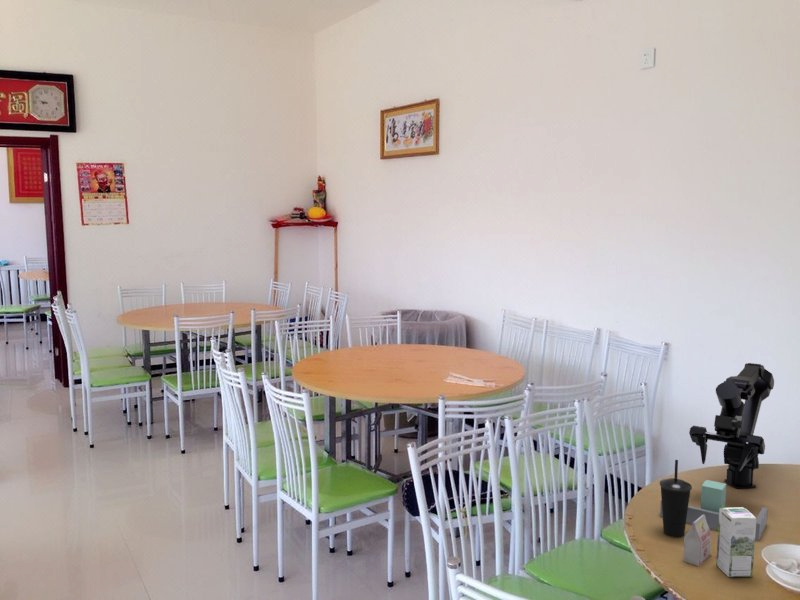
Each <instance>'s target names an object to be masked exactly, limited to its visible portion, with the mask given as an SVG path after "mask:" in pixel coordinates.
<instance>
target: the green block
mask: <svg viewBox="0 0 800 600" xmlns="http://www.w3.org/2000/svg"><path fill="white" fill-rule="evenodd" d="M700 494H701V496H700V508H701V509H705V510H709V511H713V512H718V513H719V510H720V508H726V499H727V483H723V482H719V481H714V480H709V479H705V481H704V482H703V483H702V484H701V493H700Z"/></svg>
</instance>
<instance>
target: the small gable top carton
mask: <svg viewBox="0 0 800 600" xmlns="http://www.w3.org/2000/svg"><path fill="white" fill-rule="evenodd" d="M683 537H684V538H683V539H684V540H683V562H685V563H689V564H690V565H693V566H694V565H695V566H697V567H700V566H701V565H702V564H704V563H705V561H707V560H708V559H709V558H710V557H711V546H712V545H711V544H712V543H711V539H712V532H711V529H709V526H708V524H707V521H706V518H705V515H702V516H701V517H699V518H698V519H697V520H696V521H694V522H693V523H692V524H691V527H690V528H689V530H688V532H687V533H686V534H685V535H684V536H683Z"/></svg>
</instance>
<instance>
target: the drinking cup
mask: <svg viewBox="0 0 800 600" xmlns="http://www.w3.org/2000/svg"><path fill="white" fill-rule="evenodd" d="M678 465H679V460H678V459H675V460H674V477H669V478H664V479H663V478H662V479H661V480H660V481H659V486H660V494H661V495H660V496H661V500H662V514H663V517H662V525H663V527H662V530H663V534H664V535H666V536H668V537H671V538H677V539H678V538H682V537H685V533H686V532H685V531H686V524H687V523H686V518H687V511H688V506H689V504H690V496H691V491H692V489H693V486H692V484H691V483H689V482H687V481H686V480H683V479H681V478H678V470H679V468H678Z"/></svg>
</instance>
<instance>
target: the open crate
mask: <svg viewBox="0 0 800 600" xmlns="http://www.w3.org/2000/svg"><path fill="white" fill-rule="evenodd" d="M659 511H660V512H659V517H661V518H663V514H662V499H661V500H660V510H659ZM702 515H705V518H706V521H707V524H708V526H709V529H710V530H712V531H717V532H718V527H719V513H718V512H713V511H709V510H705V509H701V507H695V506H691V505H688V511H687V518H686V524H688V525H692V523H693V522H694V521H696V520H697V519H698V518H699V517H701V516H702ZM767 520H768V508H767V507H763V506H762V507H761V509H760V511H759V514H758V515H757V518H756V533H755V542H756V541H757V542H759V541H760V539H761V538H762V535H763V533H764V532H765V528H766V527H767V523H768V521H767Z"/></svg>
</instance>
